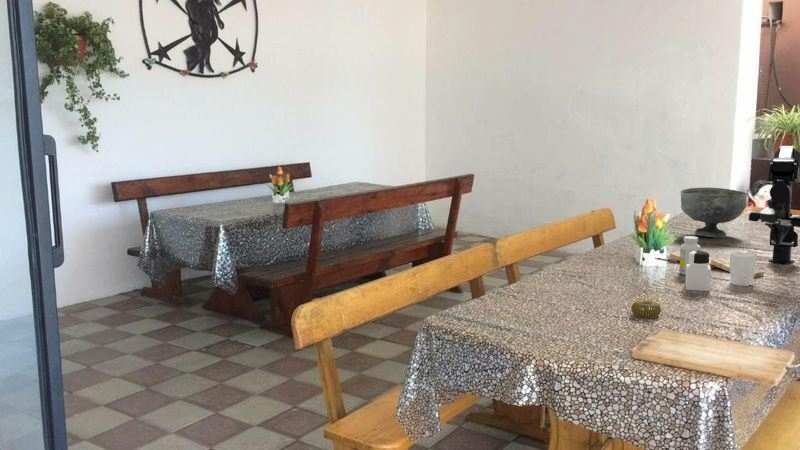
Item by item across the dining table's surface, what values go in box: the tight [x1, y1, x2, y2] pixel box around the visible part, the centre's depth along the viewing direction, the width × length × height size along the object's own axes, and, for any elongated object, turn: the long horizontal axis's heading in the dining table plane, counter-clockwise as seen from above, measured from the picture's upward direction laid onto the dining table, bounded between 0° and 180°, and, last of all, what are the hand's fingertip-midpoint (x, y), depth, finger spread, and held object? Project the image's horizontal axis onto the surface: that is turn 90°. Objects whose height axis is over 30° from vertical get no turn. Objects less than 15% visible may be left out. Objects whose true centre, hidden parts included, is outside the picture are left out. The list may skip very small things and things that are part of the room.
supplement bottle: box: [679, 235, 702, 276], centre depth 257 cm, size 7×7×13 cm
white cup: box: [729, 251, 758, 287], centre depth 242 cm, size 8×8×10 cm
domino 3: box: [709, 256, 718, 269], centre depth 269 cm, size 5×2×9 cm
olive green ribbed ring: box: [630, 299, 662, 319], centre depth 210 cm, size 8×4×8 cm
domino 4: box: [711, 257, 730, 273], centre depth 262 cm, size 5×2×9 cm
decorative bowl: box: [680, 186, 748, 239], centre depth 323 cm, size 26×26×20 cm
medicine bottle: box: [685, 250, 712, 292], centre depth 237 cm, size 7×7×12 cm
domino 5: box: [754, 267, 765, 279], centre depth 255 cm, size 5×2×9 cm
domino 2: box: [668, 258, 680, 263], centre depth 281 cm, size 5×2×9 cm
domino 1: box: [669, 251, 680, 262], centre depth 276 cm, size 5×2×9 cm
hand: (778, 244), depth 244 cm, fingers closed
